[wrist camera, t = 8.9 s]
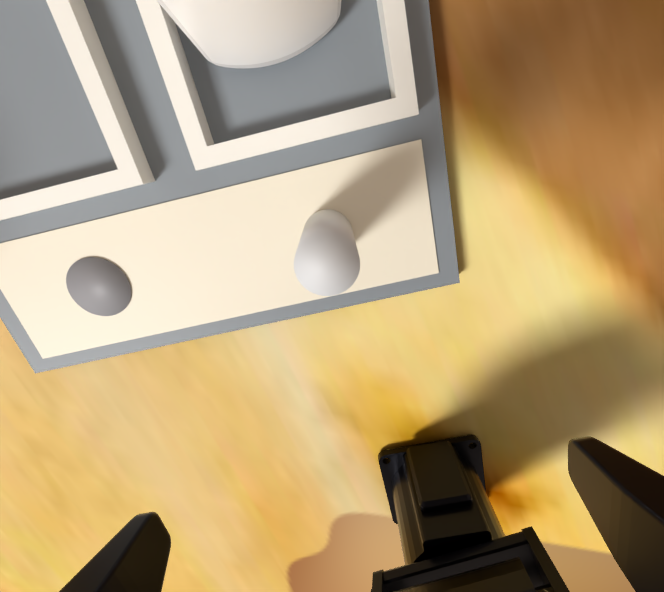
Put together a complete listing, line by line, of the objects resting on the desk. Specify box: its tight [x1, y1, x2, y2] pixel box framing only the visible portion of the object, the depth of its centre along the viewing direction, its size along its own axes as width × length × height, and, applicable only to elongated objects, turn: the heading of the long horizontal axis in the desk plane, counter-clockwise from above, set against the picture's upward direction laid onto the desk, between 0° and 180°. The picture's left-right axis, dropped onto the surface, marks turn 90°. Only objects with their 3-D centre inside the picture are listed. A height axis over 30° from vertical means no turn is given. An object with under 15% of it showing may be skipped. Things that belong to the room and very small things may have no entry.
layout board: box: [0, 0, 460, 373], centre depth 15 cm, size 18×24×6 cm
